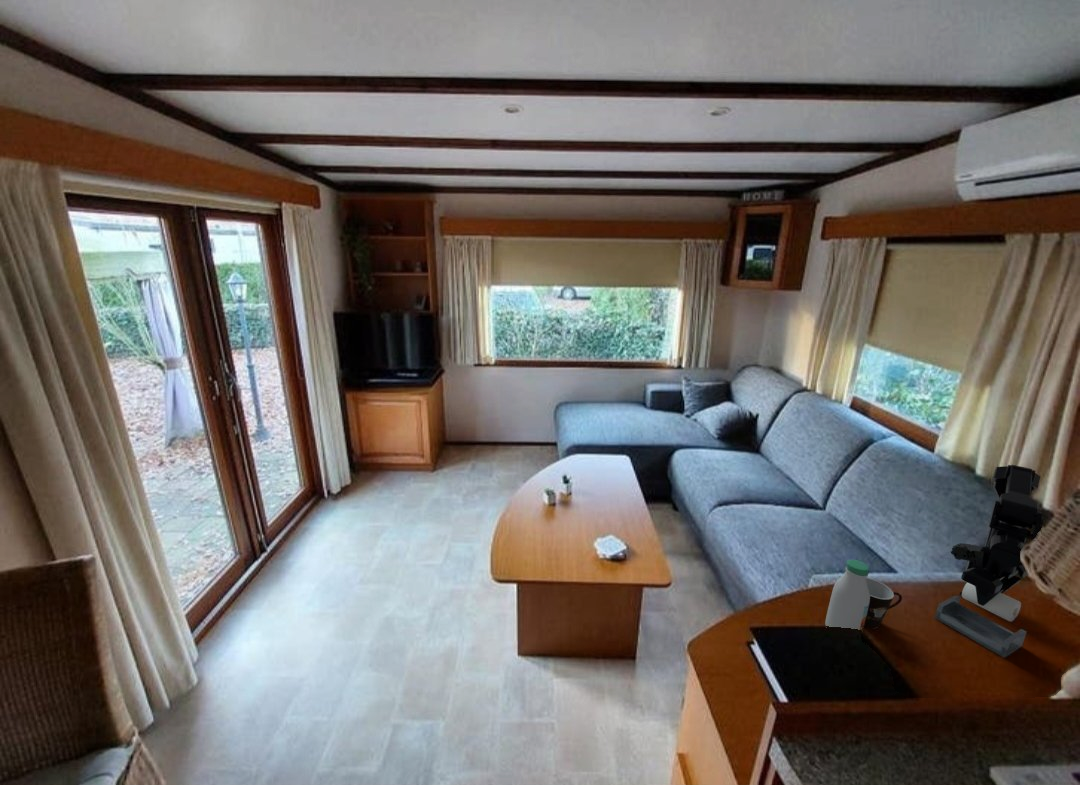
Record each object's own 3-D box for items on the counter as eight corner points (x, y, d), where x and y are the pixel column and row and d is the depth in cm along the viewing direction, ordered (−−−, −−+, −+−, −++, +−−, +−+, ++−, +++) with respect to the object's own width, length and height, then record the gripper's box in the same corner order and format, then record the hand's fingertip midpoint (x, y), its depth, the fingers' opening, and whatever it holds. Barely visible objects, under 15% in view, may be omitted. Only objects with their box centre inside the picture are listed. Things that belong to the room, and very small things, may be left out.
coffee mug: (848, 624, 114) (856, 592, 111) (843, 603, 121) (850, 573, 119) (903, 641, 109) (913, 608, 106) (894, 618, 116) (903, 587, 114)
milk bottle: (849, 647, 107) (867, 578, 102) (818, 625, 113) (833, 559, 108) (866, 636, 110) (884, 569, 105) (835, 616, 117) (850, 551, 112)
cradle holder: (951, 608, 121) (956, 595, 119) (1021, 646, 108) (1026, 631, 107) (934, 618, 117) (938, 604, 116) (1004, 658, 105) (1009, 643, 103)
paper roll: (958, 599, 113) (965, 580, 112) (968, 596, 115) (975, 578, 114) (1006, 623, 105) (1014, 603, 104) (1016, 620, 107) (1024, 600, 106)
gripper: (980, 523, 117) (964, 573, 121) (943, 538, 110) (928, 590, 114) (1038, 546, 107) (1019, 599, 111) (1003, 564, 100) (984, 620, 104)
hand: (986, 601), depth 110 cm, fingers closed on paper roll, 5 cm apart
